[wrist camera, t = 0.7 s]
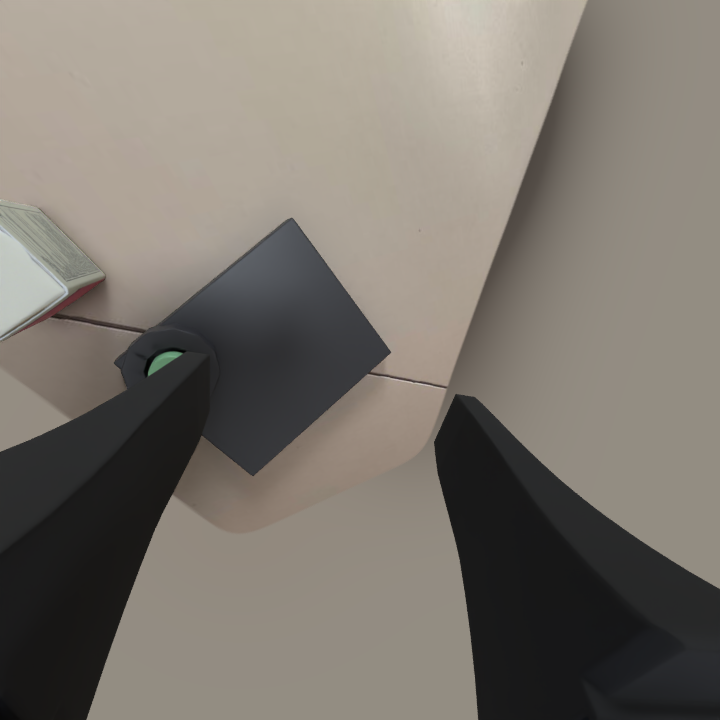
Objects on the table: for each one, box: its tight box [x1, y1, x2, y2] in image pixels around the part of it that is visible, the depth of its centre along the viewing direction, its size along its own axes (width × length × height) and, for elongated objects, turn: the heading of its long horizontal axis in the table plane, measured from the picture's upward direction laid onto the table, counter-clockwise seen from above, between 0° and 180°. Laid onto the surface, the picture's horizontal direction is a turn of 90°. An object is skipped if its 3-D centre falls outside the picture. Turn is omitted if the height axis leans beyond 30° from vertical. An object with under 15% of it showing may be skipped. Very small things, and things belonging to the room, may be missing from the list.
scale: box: [114, 218, 391, 476], centre depth 27 cm, size 15×13×3 cm
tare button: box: [148, 351, 183, 376], centre depth 23 cm, size 3×3×1 cm
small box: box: [0, 199, 105, 342], centre depth 19 cm, size 5×4×8 cm
